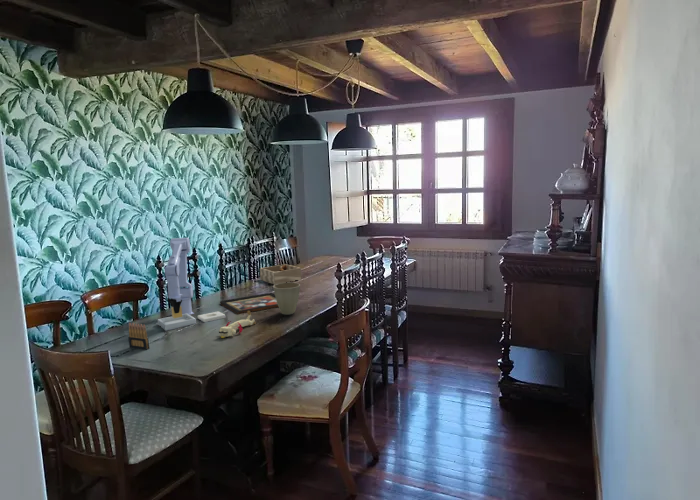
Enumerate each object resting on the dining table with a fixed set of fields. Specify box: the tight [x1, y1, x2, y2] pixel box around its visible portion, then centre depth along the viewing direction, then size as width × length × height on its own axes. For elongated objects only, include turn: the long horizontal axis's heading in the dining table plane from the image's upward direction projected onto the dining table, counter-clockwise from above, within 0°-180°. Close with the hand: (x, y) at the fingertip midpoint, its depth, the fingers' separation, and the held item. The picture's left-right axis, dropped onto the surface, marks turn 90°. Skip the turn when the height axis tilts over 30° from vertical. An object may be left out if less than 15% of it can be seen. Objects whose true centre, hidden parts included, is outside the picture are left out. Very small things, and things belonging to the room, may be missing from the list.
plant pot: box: [272, 282, 301, 315], centre depth 270 cm, size 15×15×16 cm
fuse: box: [170, 306, 182, 318], centre depth 256 cm, size 3×4×6 cm, turn 126°
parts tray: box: [157, 313, 197, 332], centre depth 257 cm, size 14×16×3 cm
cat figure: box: [218, 311, 257, 339], centre depth 241 cm, size 10×9×25 cm
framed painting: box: [219, 292, 279, 315], centre depth 292 cm, size 38×35×3 cm
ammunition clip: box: [128, 321, 150, 351], centre depth 221 cm, size 11×2×12 cm, turn 67°
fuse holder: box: [197, 310, 226, 323], centre depth 265 cm, size 10×12×2 cm
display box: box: [259, 263, 302, 286], centre depth 359 cm, size 23×22×9 cm
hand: (175, 312), depth 256 cm, fingers closed on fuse, 3 cm apart
